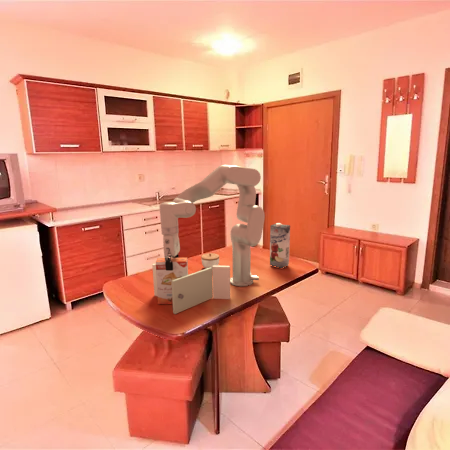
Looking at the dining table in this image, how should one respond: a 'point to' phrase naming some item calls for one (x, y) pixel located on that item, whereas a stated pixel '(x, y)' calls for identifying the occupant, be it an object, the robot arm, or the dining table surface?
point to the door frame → (219, 281)
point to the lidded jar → (210, 260)
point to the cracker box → (169, 277)
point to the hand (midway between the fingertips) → (172, 266)
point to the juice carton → (279, 245)
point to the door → (192, 290)
